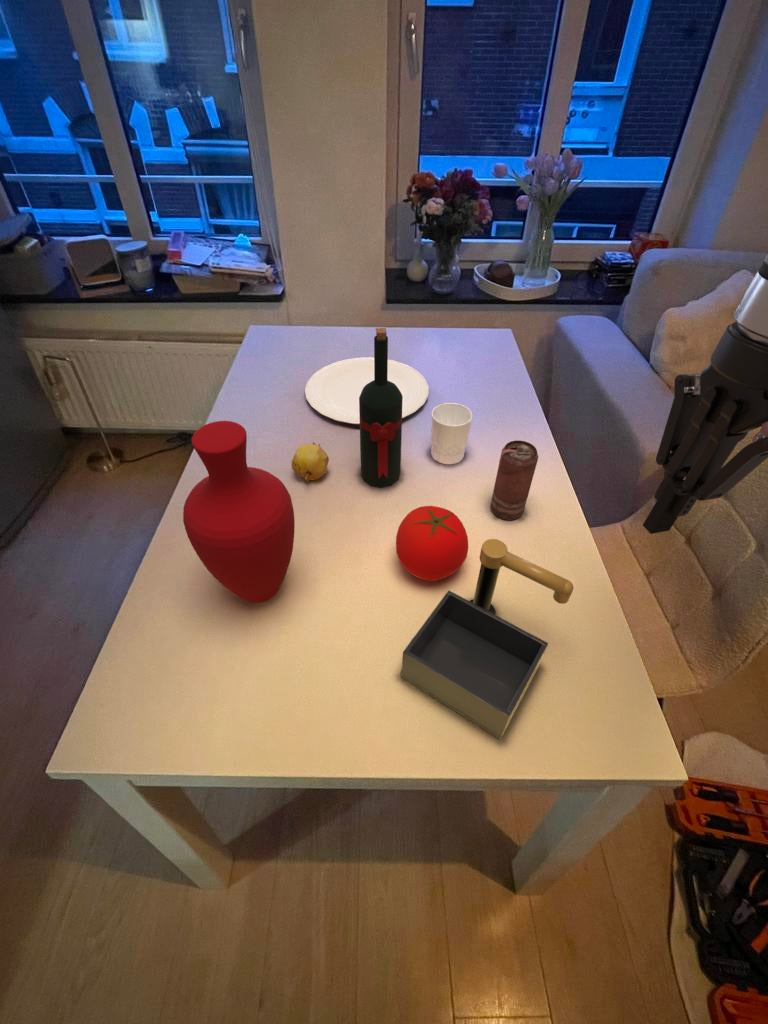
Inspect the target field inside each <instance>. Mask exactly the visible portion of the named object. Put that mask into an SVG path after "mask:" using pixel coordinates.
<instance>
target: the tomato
mask: <svg viewBox="0 0 768 1024" xmlns="http://www.w3.org/2000/svg"><path fill="white" fill-rule="evenodd" d="M395 549H396V552H395V553H396V555H397V558H398V560H399V562H400V564H401V565H402V566H403V567H404V569H406V571H407V572H408V573H410V574H411V575H413V576H414V577H416V578H418V579H421V580H424V581H430V582H431V581H432V582H434V581H439V580H443V579H445V578H447V577H450V576H452V574H454V573H455V572H457V571H458V570H459V569H460V568H461V567H462V565H463V564H464V562H465V560H466V559H467V556H468V552H469V537H468V533H467V530H466V528H465V526H464V524H463V522H462V521H461V520H460V518H459V517H458V516H457V515H456V514H455V513H454V512H453V511H451V510H450V509H447V508H444V507H441V506H435V505H422V506H419V507H416V508H414V509H412V510H411V511H410V512H408V513H407V514H406V515H405V517H404V518H403V520H402V521H401V522H400V524H399V526H398V528H397V532H396V536H395Z"/></svg>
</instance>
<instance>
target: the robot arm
mask: <svg viewBox="0 0 768 1024" xmlns="http://www.w3.org/2000/svg"><path fill="white" fill-rule="evenodd" d="M733 318H734V322H732V323H730V324H728V325H727V326H726V328H725V330H724V332H723V333H722V335H721V337H720V339H719V341H718V343H717V344H716V347H715V348H714V350H713V351H712V354H711V355H710V364H709V365H707V366H706V367H704V369H702V371H701V373H685V374H678V375H676V376H675V378H674V385H673V386H674V389H673V390H674V391H673V393H674V394H673V401H672V403H671V407H670V410H669V414H668V416H667V420H666V422H665V423H666V424H665V426H664V429H663V430H664V431H663V434H662V436H661V440H660V443H659V447H658V450H657V454H656V456H655V462H656V464H657V465H659V466H662V468H663V470H664V472H663V475H664V477H663V479H662V480H661V482H660V484H659V485H658V487H657V489H656V490H655V492H654V495H653V496H654V497H653V498H654V499H655V500H656V501H655V503H654V505H653V507H652V508H651V511H650V512H649V514H648V515H647V517H646V519H645V520H644V522H643V524H642V527H643V528H644V529H645V530H646V531H647V532H648V533H649V534H650V535H653V534H659V533H664V532H669V531H670V530H671V528H672V527H673V526H674V524H675V522H676V521H677V520H678V518H679V517H685V516H687V515H688V514H689V513H690V511H691V510H692V508H693V506H694V505H695V504H696V502H697V501H699V502H704V501H709V500H716V499H720V498H722V497H724V496H725V495H726V494H727V493H728V492H729V491H731V490H732V489H733V488H734V487H735V486H737V485H738V484H739V483H740V482H741V481H742V480H744V478H746V477H747V476H748V475H750V474H751V473H752V472H753V471H754V470H755V469H757V468H758V467H759V466H760V465H762V463H764V462H765V461H766V460H767V459H768V253H767V254H766V256H765V258H764V260H763V262H762V263H761V265H760V267H759V269H758V270H757V272H756V273H755V275H754V277H753V279H752V280H751V282H750V284H749V286H748V287H747V289H746V292H745V293H744V294H743V296H742V299H740V302H739V303H738V305H737V307H736V309H735V311H734V312H733ZM758 428H760V430H759V431H758V432H757V433H756V434H755V435H753V436H752V437H751V441H752V442H751V443H749V444H747V445H745V446H744V447H743V448H741V449H740V450H739V451H738V452H737V453H736V454H735V455H734V456H733V457H732V458H731V459H730V460H729V461H728V462H726V461H727V460H728V458H729V457H730V456H731V454H732V453H733V451H734V450H735V448H736V446H737V445H738V443H739V442H741V441H743V440H744V439H745V438H746V437H747V435H748V434H749V432H751V431H753V430H756V429H758Z"/></svg>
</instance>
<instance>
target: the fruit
mask: <svg viewBox="0 0 768 1024" xmlns="http://www.w3.org/2000/svg"><path fill="white" fill-rule="evenodd" d="M329 461H330V458H329V455H328V453H327V452H326V450H325V449H323V447H321V443H318V444H317V443H316V442H315V441H312V443H308V444H303V445H301V446H299V447H298V448H297V449H296V450H295V452H294V455H293V458H292V460H291V469H292V470H293V472H294V473H295V474H296V475H298V476H299V477H301V478H304V480H305V482H306V483H308V484H309V483H310V480H312V481H316V480H318V479H320V478H321V477H323V476H324V475H325V474H326V472H327V469H328V464H329Z"/></svg>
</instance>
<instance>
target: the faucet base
mask: <svg viewBox="0 0 768 1024" xmlns="http://www.w3.org/2000/svg"><path fill="white" fill-rule="evenodd" d="M479 567H480V568H479V571H478V577H477V581H476V587H475V590H474V596H473V598H472V599H470V600H469V601H470V602H472V603H474V604H476V605H477V606H479V607H481V608H483V609H485V610H487V611H489V612H491V613H493V614H494V615H496V616H497V613H496V612H497V611H496V609H495V607H494V605H493V604H492V601H493V597H494V593H495V589H496V585H497V582H498V578H499V573H500V570H501V567H500V568H497V569H491V568H487V567H485V566H484V565H483V564H482V563H481V562H480V566H479Z"/></svg>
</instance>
